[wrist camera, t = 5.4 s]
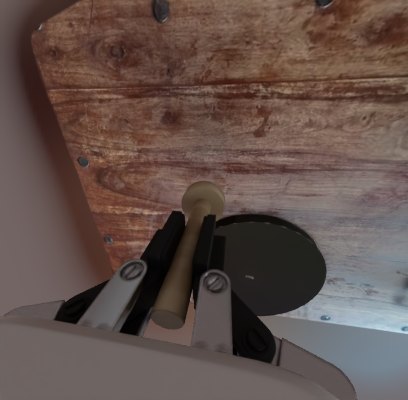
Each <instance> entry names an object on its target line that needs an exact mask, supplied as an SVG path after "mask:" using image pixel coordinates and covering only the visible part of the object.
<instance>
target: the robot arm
mask: <svg viewBox="0 0 408 400" xmlns="http://www.w3.org/2000/svg"><path fill="white" fill-rule="evenodd" d="M184 229H185V215H184V214H182V212H180V211H172V213H171V215H170V216H169V218H168V220H167V222H166V223H165V225H164V227H163V229H158V230H157V231H156V233H155V235H154V236H153V238H152V240H151V241H150V243H149V245H148V246H147V248H146V249H145V251H144V253H143V254H142V256H141V258H140V259H133V260H130V261H127V262H125V263H124V264H122V266H121V267H120V268H119V269H118V270H117V271H116V273H115V274H114V275H113V277H112V278H111V279H110V280H108V281H105V282H103V283H101V284H99V285H97V286H95V287H93V288H91V289H88V290H86V291H84V292H82V293H80V294H78V295H76V296H74V297H72V298H71V299H69V300H68V301H67V302H65V300H60V301H54V302H48V303H42V304H36V305H29V306H23V307H19V308H16V309H14V310H12V311H10V312H8V313H7V314H5V315H4V316H0V400H357V396H356V392H355V389H354V387H353V385H352V383H351V382H350V380H349V379H348V377H347V376H346V375H345V374H344V373H343V372H342V371H341V370H340V369H339V368H337V367H336V366H334V365H333V364H331V363H329V362H327V361H325V360H323V359H321V358H320V357H317V356H316V355H314V354H312V353H310V352H308V351H306V350H305V349H303V348H301V347H299V346H297V345H295V344H293V343H291V342H289V341H288V340H286V339H284V338H282V340H281V339H279V338H277V337H275V336H273V335H272V333H271V332H270V330H269V329H268V328H267V327H266V326H265V325H264V324H263V322H262V321H261V320H260V319H259V318H258V317H257V316H256V315H255V314H254V313H253V312H252V311H251V309H250V308H249V307H248V306H247V305H246V304H245V303H244V302H243V301H242V300H241V299H240V298H239V297H238V295H237V294H236V293H235V292H234V291H233V290H232V289H231V283H230V279H229V277H228V275H227V274H226V273H224V258H225V244H226V236H219V235H215V230H216V215H213V214H208V215H207V216H204V218H203V222H202V226H201V229H200V233H199V237H198V240H197V244H196V248H195V251H194V255H193V259H192V281H193V300H194V309H195V310H196V313H195V319H194V326H193V333H192V340H191V346H186V345H181V344H175V343H170V342H165V341H160V340H155V339H149V338H144V337H143V334H144V332H145V330H146V327H147V325H148V323H149V320H150V318H151V311H152V309H153V306H154V304H155V301H156V299H157V296H158V294H159V291H160V289H161V286H162V284H163V281H164V279H165V276H166V274H167V272H168V269H169V267H170V264H171V262H172V259H173V257H174V254H175V252H176V249H177V247H178V244H179V242H180V239H181V237H182V234H183V232H184Z"/></svg>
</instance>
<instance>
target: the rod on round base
mask: <svg viewBox="0 0 408 400" xmlns="http://www.w3.org/2000/svg"><path fill="white" fill-rule="evenodd" d="M224 208H225V196H224V193H223V191H222V190H221V189H220V188H219V187H218V186H217V185H216V184H214V183H212V182H208V181H199V182H195V183H193V184H192V185H190V186H189V187H188V189H187V190H186V192H185V194H184V196H183V198H182V209H183V211H184V213H185V214H186V216H187V217H188V218H189V219H188V221H187V224H186V226H185V229H184V232H183V234H182V237H181V239H180V242H179V244H178V247H177V249H176V252H175V254H174V257H173V259H172V262H171V264H170V267H169V269H168V272H167V274H166V276H165V279H164V281H163V284H162V286H161V289H160V291H159V294H158V296H157V299H156V301H155V304H154V306H153V309H152V311H151V319H152V320H153V322H155V323H156V324H157V325H159V326H161V327H163V328H166V329H180V328H182V327H183V325H184V323H185V319H186V315H187V310H188V306H189V302H190V297H191V293H192V289H193V281H192V259H193V255H194V251H195V248H196V244H197V240H198V237H199V233H200V229H201V226H202V222H203V218H204V216H207V215H208V214H213V215H216V221H217V220H218V219H220V217H221V216H222V215H223V213H224Z"/></svg>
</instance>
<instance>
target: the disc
mask: <svg viewBox="0 0 408 400" xmlns="http://www.w3.org/2000/svg"><path fill="white" fill-rule="evenodd" d="M215 235H219V236H226V244H225V258H224V273H226V274H227V275H228V277H229V279H230V283H231V289H232V290H233V291H234V292H235V293H236V294H237V295H238V297H239V298H240V299H241V300H242V301H243V302H244V303H245V304H246V305H247V306H248V307H249V308H250V309H251V311H252V312H253V313H254V314H255V315H256V316H270V315H277V314H282V313H286V312H289V311H292V310H295V309H297V308H299V307H301V306H303V305H305V304H306V303H308V302H309V301H310V300H312V299H313V298H314V297H315V296H316V295H317V294H318V293H319V291H320V290H321V289H322V287H323V284H324V282H325V279H326V272H327V270H326V264H325V260H324V258H323V256H322V254H321V252H320V251H319V249H318V248H317V246H316V244H315V243H314V241H313V240H312V239H311V238H310V236H309V235H308V234H307V233H306V232H305V231H303V230H302V229H300V228H299V227H297V226H296V225H294V224H292V223H290V222H287V221H285V220H283V219H280V218H276V217H271V216H267V215H255V214H248V215H236V216H232V217H228V218H224V219H221V220H219V221H217V222H216V230H215Z"/></svg>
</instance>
